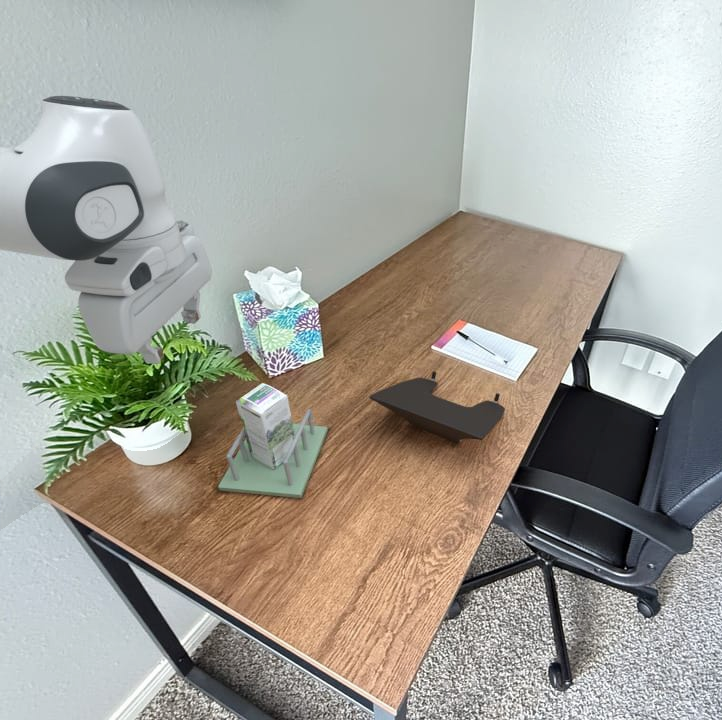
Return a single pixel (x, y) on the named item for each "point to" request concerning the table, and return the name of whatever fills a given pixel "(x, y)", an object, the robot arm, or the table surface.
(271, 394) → the syrup box
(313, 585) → the table surface
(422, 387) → the laptop tray
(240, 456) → the drying rack
